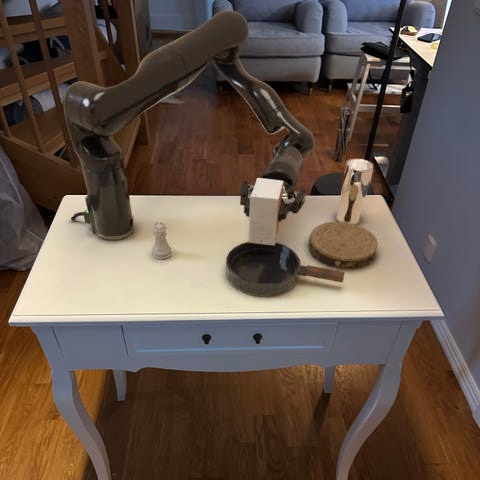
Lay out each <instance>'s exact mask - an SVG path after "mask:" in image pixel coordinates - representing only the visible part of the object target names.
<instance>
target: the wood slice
mask: <svg viewBox="0 0 480 480" xmlns="http://www.w3.org/2000/svg"><path fill="white" fill-rule="evenodd" d="M378 246H379V242H378V239H377V237H376V236H375V235H374V234H373V233H372V232H371V231H369V230H368V229H367V228H366V227H363V226H360V225H358V224H351V223H347V222H339V221H329V222H328V221H327V222H324V223H322V224H319V225H317V226H316V227H314V228H312V230H311V232H310V234H309V239H308V252H309V253H310V255H311V256H312V258H314V260H316V261H318V263H321V264H322V265H325V266H326V267H329V268H332V269H335V270H336V269H337V270H341V271H343V270H345V271H353V270H361V269H363V268H365V267H368V266H370V265H371V264H372V263H373V261H374V260H375V257H376V253H377V249H378Z"/></svg>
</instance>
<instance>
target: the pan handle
mask: <svg viewBox="0 0 480 480" xmlns="http://www.w3.org/2000/svg"><path fill="white" fill-rule="evenodd" d="M345 273H346V272H345V271H343V270H338V269H337V270H336V269H331V268H325V267H320V266H314V265H309V264H306V265H302V264H301V267H300V270H299V274H298V275H299V277H300V276H301V277H310V278H315V279H322V280H327V281H331V282H337V283H343V282H344V278H345Z"/></svg>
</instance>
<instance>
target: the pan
mask: <svg viewBox="0 0 480 480" xmlns="http://www.w3.org/2000/svg"><path fill="white" fill-rule="evenodd" d="M301 265H302V264H301V258H300V257H299V255H298V254H297V253H296V252H295V251H294V250H293V249H292V248H290V247H288V246H287V245H285V244H282V243H279V242H277V241H276V242H275V245H266V244H257V243H249V241H246V242H242V243H240V244H238V245H236V246H234V247H232V249H231V250H229V252H228V253H227V255H226V261H225V274H226V277H227V280H228V281H229V282H230V283H231V285H232V286H233V287H235V288H237V289H238V290H240V291H242V292H244V293H247V294H249V295H255V296H265V297H267V296H268V297H269V296H275V295H280V294H284V293H286V292H288V291H289V290H291V289H293V288H294V287H295V286H296V284H297V283H298V282H299V278H300V275H298V274H299V270H300V267H301Z"/></svg>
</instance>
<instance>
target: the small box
mask: <svg viewBox="0 0 480 480" xmlns="http://www.w3.org/2000/svg"><path fill="white" fill-rule="evenodd" d="M255 180H256V181H255V184H254V185H255V186H254V189H253V191H252V192H251V193H250V194H251V196H250V213H249V217H248V242H249V243H257V244H266V245H275V242H277V237H278V234H279V229H280V224H281V222H278V213H279V210H280V207H281V204H282V195H283V185H284V181H281V180H272V179H263V178H261V177H257V178H256V179H255Z"/></svg>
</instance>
